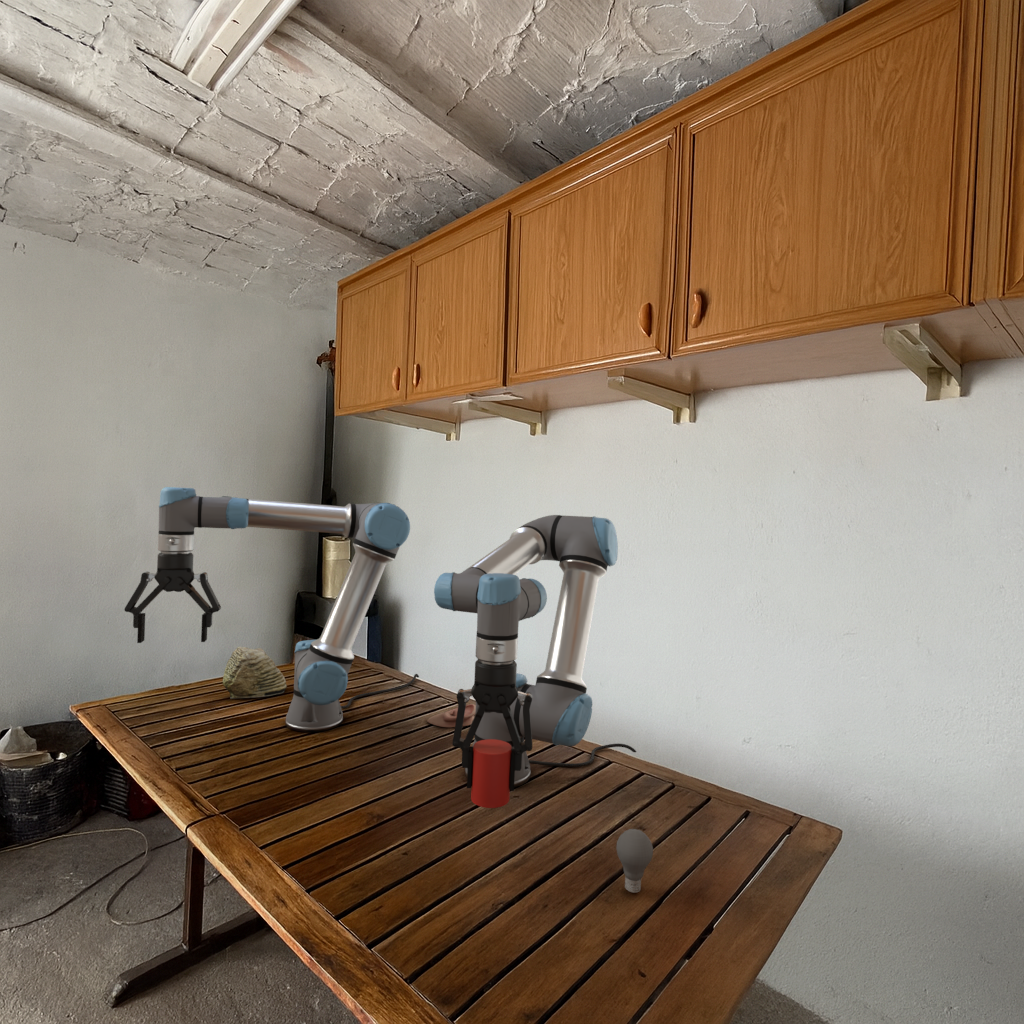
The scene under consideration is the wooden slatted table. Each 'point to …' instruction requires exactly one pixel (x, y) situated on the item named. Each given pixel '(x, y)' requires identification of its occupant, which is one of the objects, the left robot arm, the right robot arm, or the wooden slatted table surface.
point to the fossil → (252, 674)
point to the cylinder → (491, 773)
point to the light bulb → (634, 857)
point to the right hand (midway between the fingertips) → (490, 785)
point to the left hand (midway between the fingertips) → (172, 641)
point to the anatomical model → (453, 717)
